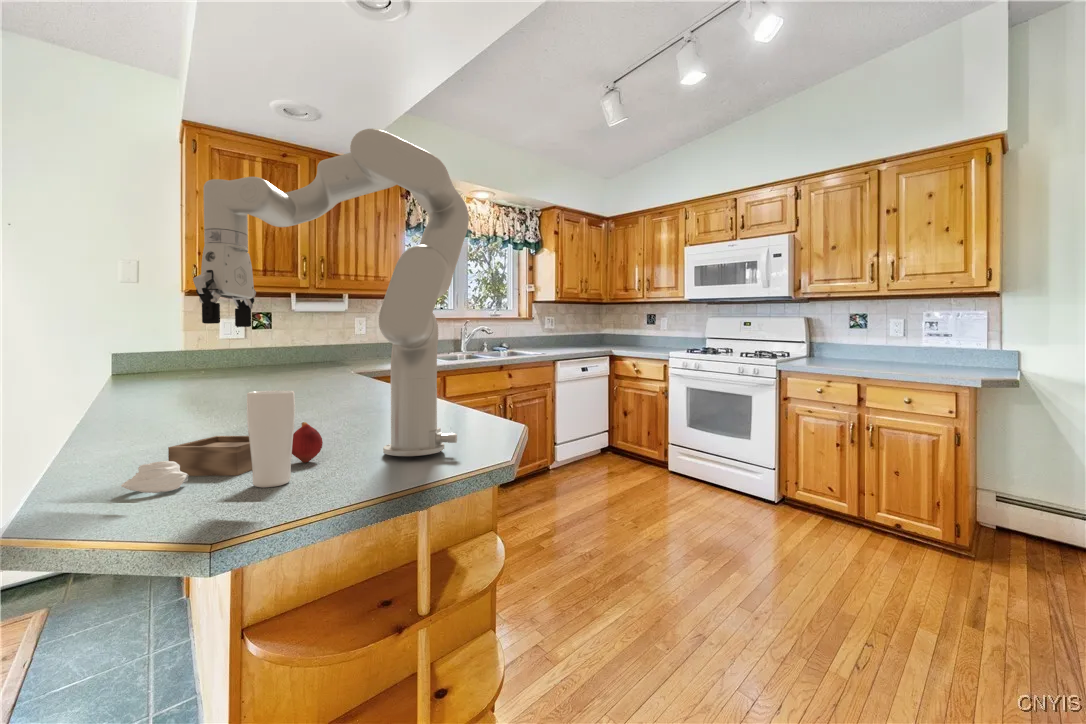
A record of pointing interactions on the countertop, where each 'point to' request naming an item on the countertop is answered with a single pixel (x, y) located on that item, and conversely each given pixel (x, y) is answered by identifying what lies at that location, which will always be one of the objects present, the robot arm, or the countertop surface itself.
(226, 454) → the walnut base
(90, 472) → the countertop surface
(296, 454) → the onion
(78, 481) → the countertop surface
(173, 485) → the whipped cream
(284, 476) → the drinking glass
